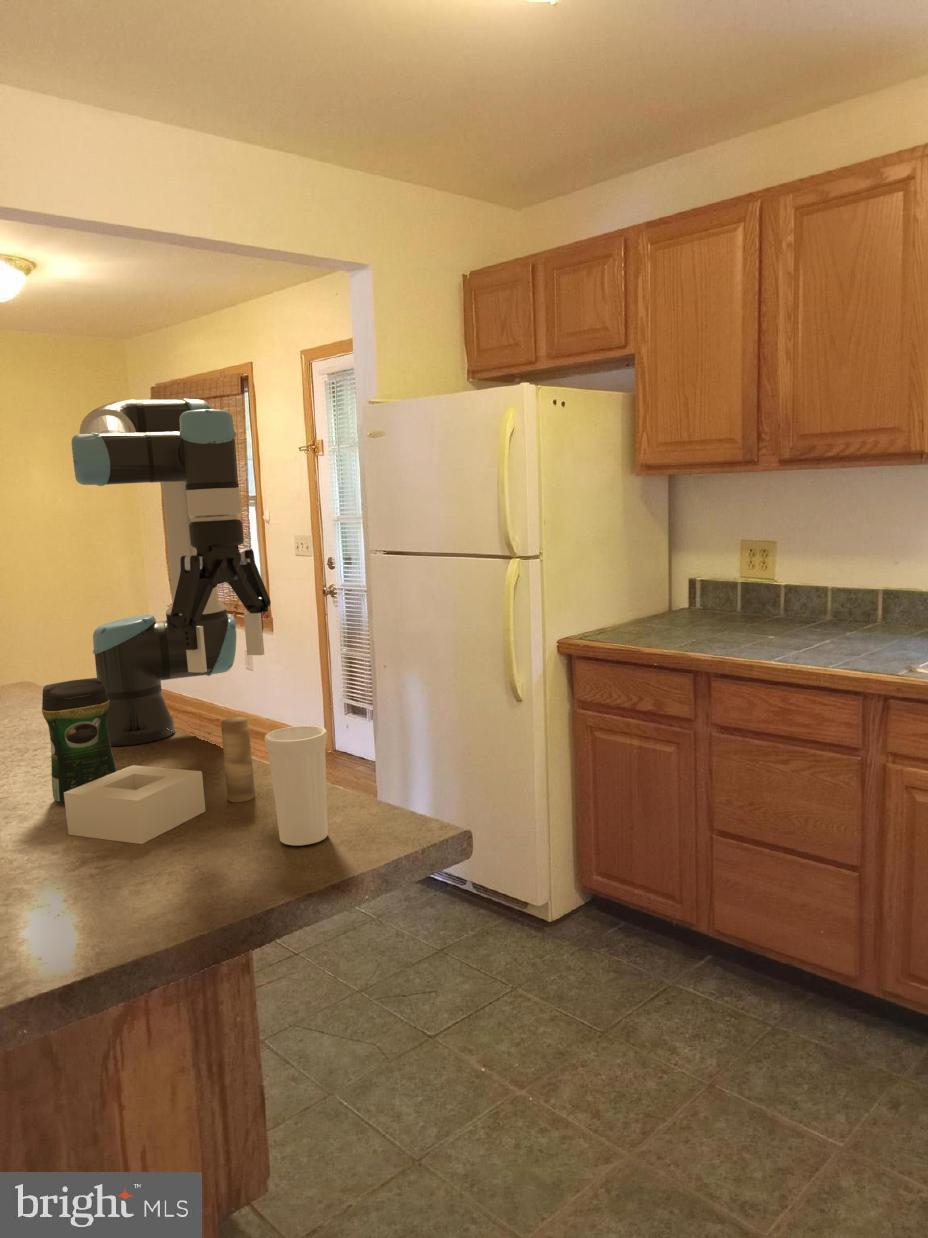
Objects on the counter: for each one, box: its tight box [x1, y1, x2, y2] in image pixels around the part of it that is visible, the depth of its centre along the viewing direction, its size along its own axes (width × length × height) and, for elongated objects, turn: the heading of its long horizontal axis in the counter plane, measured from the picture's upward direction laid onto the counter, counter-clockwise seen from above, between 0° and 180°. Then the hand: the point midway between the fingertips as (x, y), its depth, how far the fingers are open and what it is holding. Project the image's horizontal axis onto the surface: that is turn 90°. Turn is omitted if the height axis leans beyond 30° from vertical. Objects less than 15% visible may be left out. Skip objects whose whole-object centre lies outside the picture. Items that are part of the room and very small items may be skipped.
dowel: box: [220, 716, 256, 803], centre depth 136 cm, size 4×4×12 cm
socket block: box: [64, 764, 207, 845], centre depth 128 cm, size 13×13×6 cm
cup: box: [264, 725, 329, 846], centre depth 118 cm, size 8×8×14 cm
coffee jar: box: [41, 677, 118, 806], centre depth 140 cm, size 10×8×19 cm
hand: (228, 663), depth 134 cm, fingers open, 13 cm apart
